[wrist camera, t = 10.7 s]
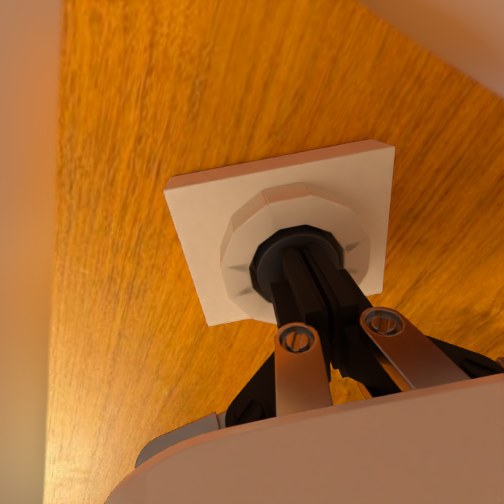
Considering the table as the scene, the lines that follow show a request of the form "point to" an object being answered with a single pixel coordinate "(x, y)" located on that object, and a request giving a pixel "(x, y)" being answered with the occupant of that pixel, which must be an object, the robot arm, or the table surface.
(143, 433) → the table surface
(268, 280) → the button
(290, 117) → the table surface
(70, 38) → the table surface
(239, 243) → the block
